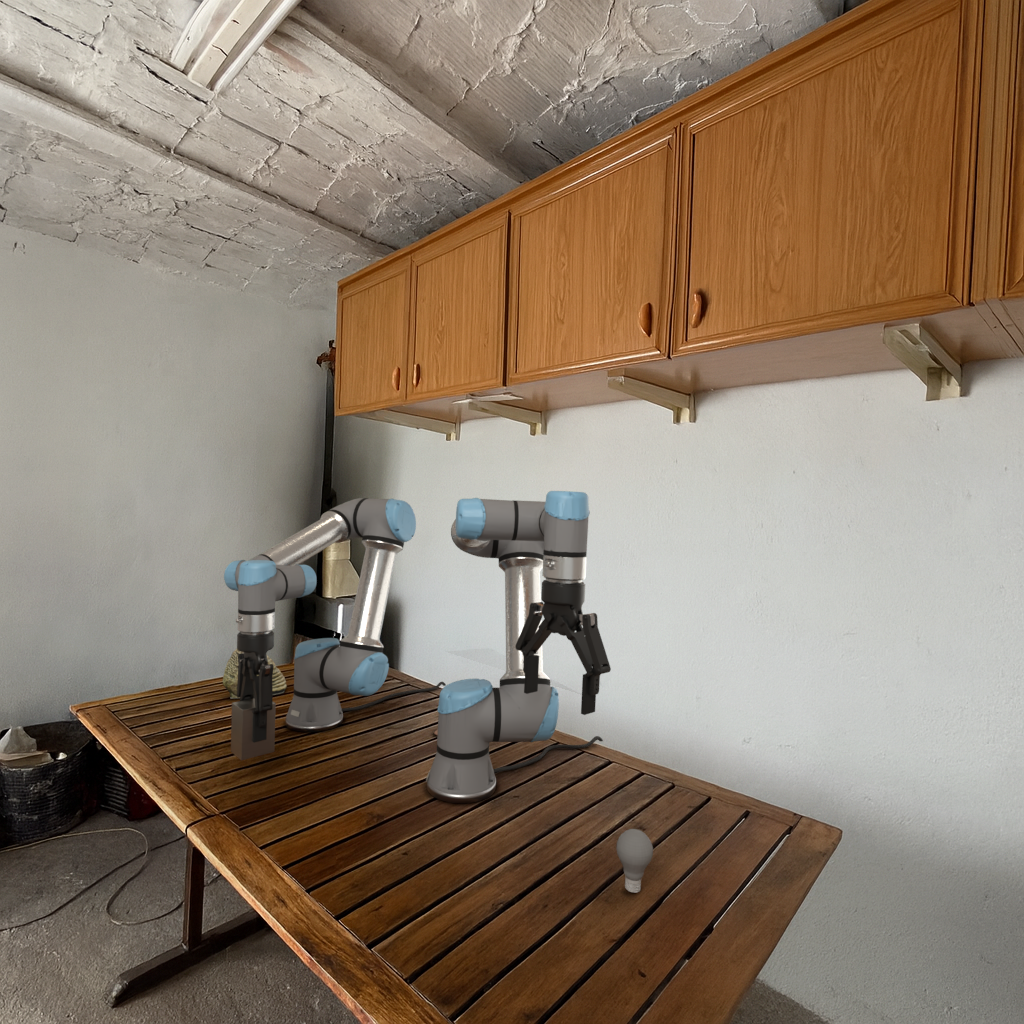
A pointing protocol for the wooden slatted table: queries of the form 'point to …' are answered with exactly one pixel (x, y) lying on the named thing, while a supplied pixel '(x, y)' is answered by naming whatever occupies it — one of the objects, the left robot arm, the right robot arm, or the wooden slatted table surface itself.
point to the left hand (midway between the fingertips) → (253, 735)
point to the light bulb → (634, 857)
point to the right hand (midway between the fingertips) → (558, 702)
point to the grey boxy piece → (250, 731)
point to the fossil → (277, 677)
